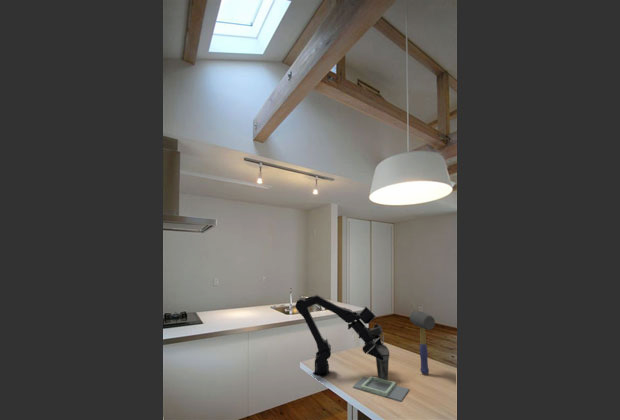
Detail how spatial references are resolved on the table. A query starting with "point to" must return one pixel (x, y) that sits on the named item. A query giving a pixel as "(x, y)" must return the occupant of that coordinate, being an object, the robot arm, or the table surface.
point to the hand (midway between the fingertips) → (384, 356)
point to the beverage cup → (383, 361)
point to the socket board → (382, 388)
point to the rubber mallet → (423, 335)
